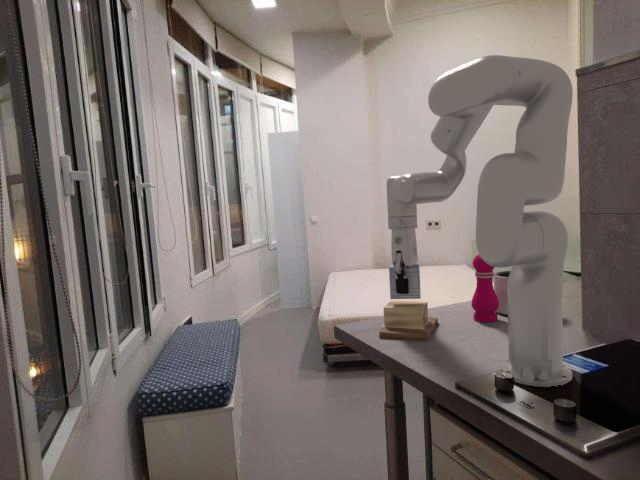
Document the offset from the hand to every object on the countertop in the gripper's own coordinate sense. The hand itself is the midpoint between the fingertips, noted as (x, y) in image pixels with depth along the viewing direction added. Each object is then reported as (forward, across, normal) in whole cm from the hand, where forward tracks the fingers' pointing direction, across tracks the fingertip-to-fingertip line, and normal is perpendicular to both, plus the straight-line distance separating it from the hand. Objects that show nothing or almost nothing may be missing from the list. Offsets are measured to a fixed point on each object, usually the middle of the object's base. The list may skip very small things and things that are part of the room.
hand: (405, 290), depth 126 cm
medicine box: (+2, 0, 0) cm, 2 cm away
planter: (+11, +23, -27) cm, 37 cm away
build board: (+10, -1, -1) cm, 11 cm away
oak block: (+9, 0, 0) cm, 9 cm away
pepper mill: (+11, +13, -19) cm, 25 cm away
